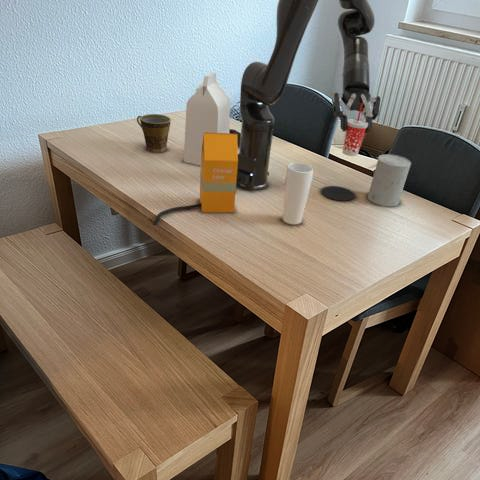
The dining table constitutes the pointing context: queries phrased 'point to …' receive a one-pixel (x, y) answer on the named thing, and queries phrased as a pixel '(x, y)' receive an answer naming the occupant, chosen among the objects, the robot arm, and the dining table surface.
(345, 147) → the beverage cup
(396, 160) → the grey wide plain cylinder
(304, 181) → the drinking glass
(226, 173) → the orange juice
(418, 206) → the dining table surface
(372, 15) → the robot arm
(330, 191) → the coaster
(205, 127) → the milk
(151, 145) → the ceramic cup
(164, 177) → the dining table surface
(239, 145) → the hairbrush
